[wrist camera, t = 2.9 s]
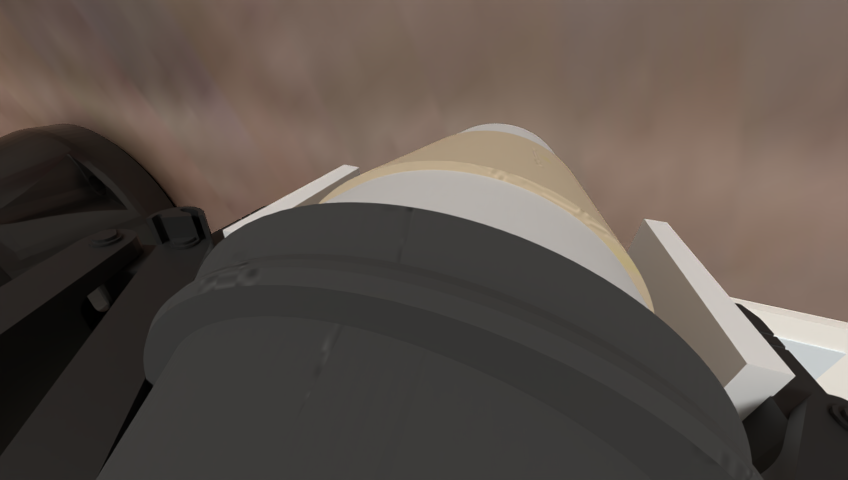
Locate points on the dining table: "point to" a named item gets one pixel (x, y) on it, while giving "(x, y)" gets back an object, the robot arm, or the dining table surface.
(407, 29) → the dining table surface
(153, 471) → the coffee cup
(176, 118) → the dining table surface
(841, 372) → the white flat piece
